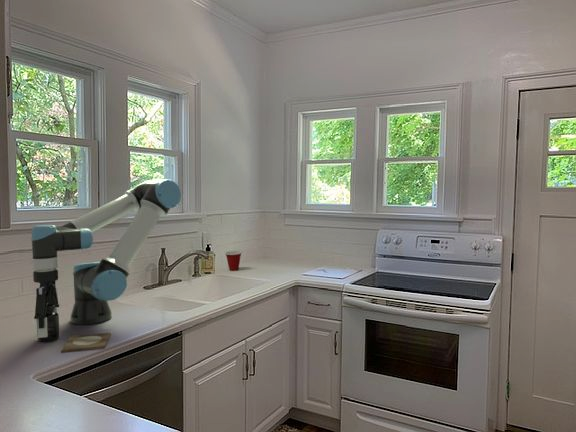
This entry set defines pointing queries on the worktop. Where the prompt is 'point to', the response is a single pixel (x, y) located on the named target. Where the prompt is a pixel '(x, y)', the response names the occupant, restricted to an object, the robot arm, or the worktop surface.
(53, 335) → the supplement bottle
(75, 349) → the board
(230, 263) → the plastic cup
